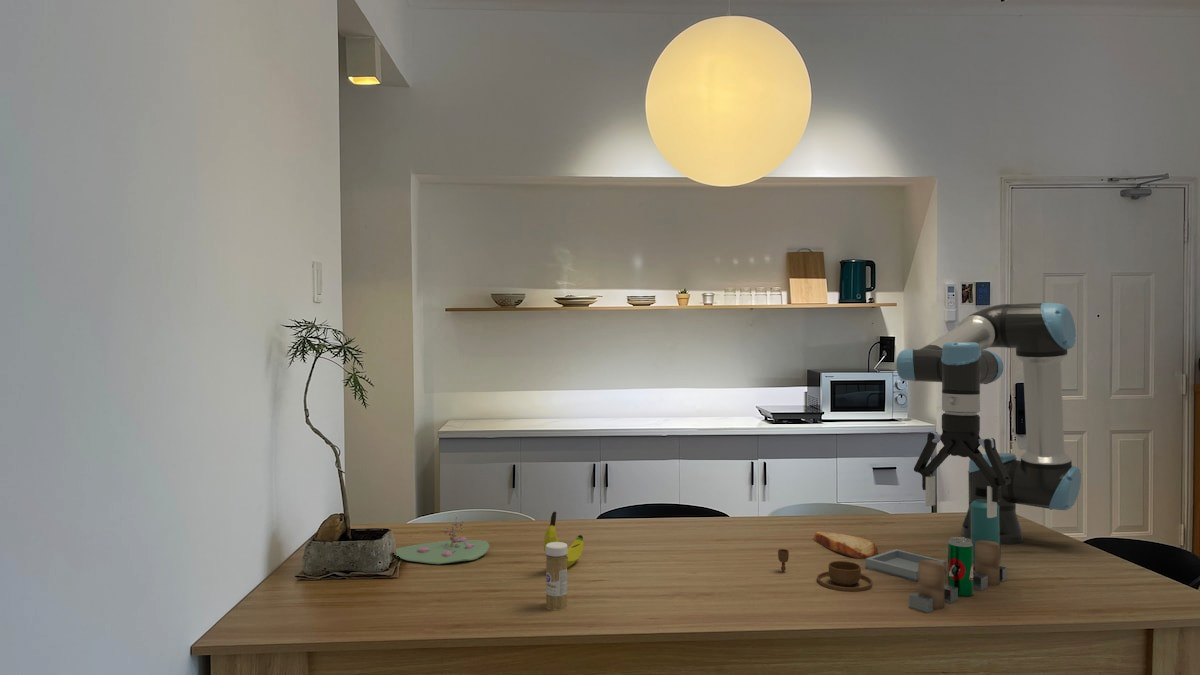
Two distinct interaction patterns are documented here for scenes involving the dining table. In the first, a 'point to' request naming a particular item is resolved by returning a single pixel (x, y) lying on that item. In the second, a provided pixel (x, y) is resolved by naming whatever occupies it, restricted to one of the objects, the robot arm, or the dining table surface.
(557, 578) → the sprinkles bottle
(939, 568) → the dowel near
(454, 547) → the plant
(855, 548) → the bread slice
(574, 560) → the banana
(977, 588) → the clip rack
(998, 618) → the dining table surface
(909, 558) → the tray
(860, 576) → the place setting
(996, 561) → the dowel far
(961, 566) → the soda can
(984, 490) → the beverage bottle
